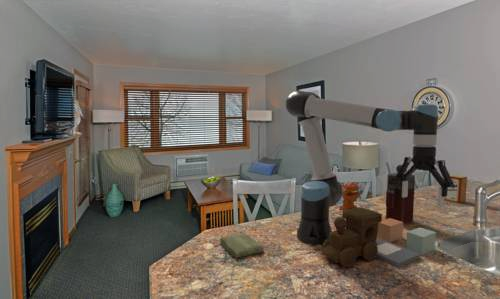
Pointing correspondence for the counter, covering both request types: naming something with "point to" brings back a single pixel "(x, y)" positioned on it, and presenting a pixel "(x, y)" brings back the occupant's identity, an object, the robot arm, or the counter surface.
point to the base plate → (394, 253)
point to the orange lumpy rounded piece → (349, 196)
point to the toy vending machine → (399, 198)
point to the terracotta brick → (390, 230)
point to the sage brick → (421, 240)
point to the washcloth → (241, 245)
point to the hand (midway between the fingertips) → (421, 200)
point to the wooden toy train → (353, 236)
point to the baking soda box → (457, 189)
